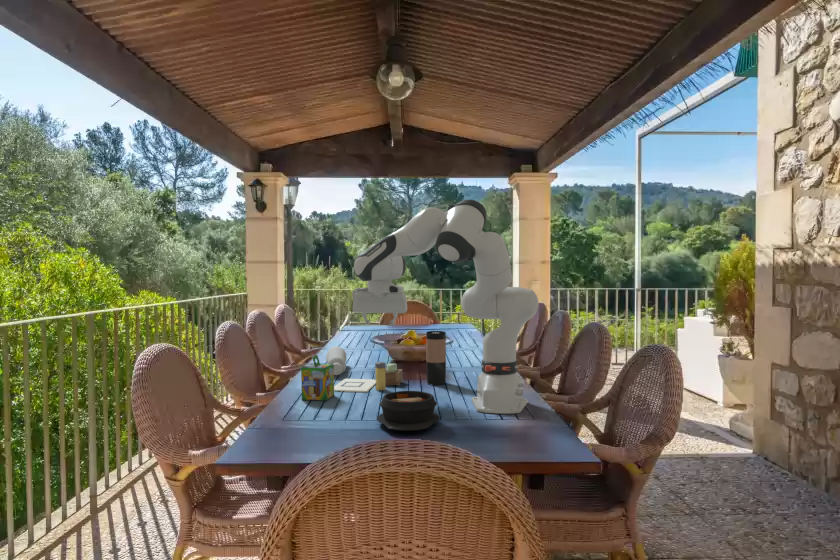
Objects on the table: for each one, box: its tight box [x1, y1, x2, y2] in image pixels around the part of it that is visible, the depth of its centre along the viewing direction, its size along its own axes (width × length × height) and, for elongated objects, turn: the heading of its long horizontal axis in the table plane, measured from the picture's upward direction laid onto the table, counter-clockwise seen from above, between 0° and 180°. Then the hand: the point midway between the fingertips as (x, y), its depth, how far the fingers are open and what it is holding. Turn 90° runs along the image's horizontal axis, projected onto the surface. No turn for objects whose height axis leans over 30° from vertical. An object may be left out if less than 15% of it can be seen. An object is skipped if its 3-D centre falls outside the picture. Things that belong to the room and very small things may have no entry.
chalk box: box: [300, 354, 335, 402], centre depth 209 cm, size 9×9×15 cm
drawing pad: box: [334, 378, 376, 393], centre depth 228 cm, size 20×14×1 cm
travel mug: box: [425, 330, 447, 386], centre depth 232 cm, size 8×8×20 cm
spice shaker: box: [374, 361, 386, 391], centre depth 221 cm, size 4×4×10 cm
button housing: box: [385, 368, 403, 386], centre depth 232 cm, size 7×7×5 cm
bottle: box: [325, 345, 347, 376], centre depth 257 cm, size 9×9×30 cm
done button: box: [386, 363, 398, 372], centre depth 231 cm, size 4×4×6 cm
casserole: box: [376, 390, 441, 432], centre depth 176 cm, size 25×19×8 cm
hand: (380, 325), depth 220 cm, fingers open, 8 cm apart
